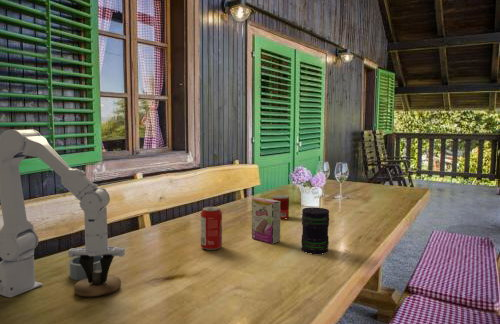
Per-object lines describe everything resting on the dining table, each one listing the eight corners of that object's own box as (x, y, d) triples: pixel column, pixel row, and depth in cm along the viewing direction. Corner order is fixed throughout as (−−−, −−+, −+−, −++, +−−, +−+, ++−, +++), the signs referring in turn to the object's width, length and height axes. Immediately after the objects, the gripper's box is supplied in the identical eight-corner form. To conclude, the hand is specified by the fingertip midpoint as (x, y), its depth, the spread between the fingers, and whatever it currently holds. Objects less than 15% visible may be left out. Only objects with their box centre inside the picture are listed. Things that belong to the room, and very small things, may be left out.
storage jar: (312, 244, 151) (312, 206, 150) (333, 250, 144) (334, 210, 143) (295, 250, 144) (296, 210, 143) (317, 256, 137) (318, 214, 136)
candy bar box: (251, 239, 158) (251, 198, 157) (259, 236, 162) (259, 197, 160) (272, 244, 150) (273, 202, 149) (280, 242, 154) (281, 200, 153)
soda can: (197, 249, 144) (196, 209, 143) (206, 243, 151) (206, 205, 150) (216, 252, 141) (216, 211, 140) (225, 246, 149) (225, 207, 147)
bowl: (86, 282, 114) (85, 267, 113) (62, 276, 118) (61, 261, 118) (112, 271, 123) (111, 257, 122) (89, 265, 127) (88, 252, 127)
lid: (96, 302, 101) (95, 284, 100) (64, 293, 106) (63, 275, 106) (130, 285, 112) (129, 268, 111) (99, 278, 117) (98, 262, 116)
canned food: (291, 217, 195) (291, 195, 194) (283, 220, 189) (284, 198, 188) (277, 215, 199) (277, 194, 198) (269, 218, 193) (270, 196, 192)
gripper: (62, 237, 103) (64, 288, 104) (119, 237, 104) (120, 286, 105) (73, 230, 110) (75, 277, 111) (126, 230, 111) (127, 276, 112)
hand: (97, 281), depth 109 cm, fingers closed on lid, 3 cm apart
